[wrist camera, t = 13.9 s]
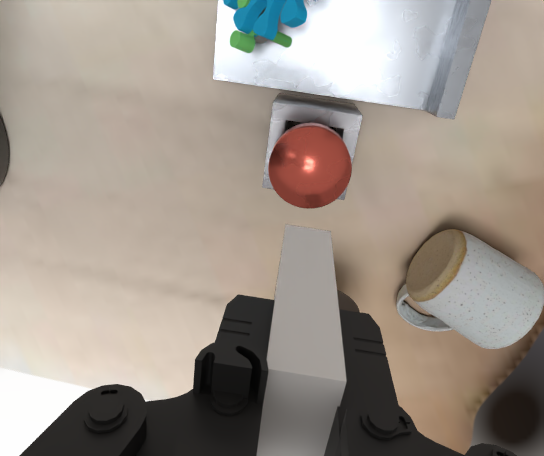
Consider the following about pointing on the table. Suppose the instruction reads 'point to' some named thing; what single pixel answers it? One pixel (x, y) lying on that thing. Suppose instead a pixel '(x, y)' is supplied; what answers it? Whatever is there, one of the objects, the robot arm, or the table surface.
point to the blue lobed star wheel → (264, 21)
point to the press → (358, 61)
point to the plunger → (310, 165)
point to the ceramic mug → (471, 291)
